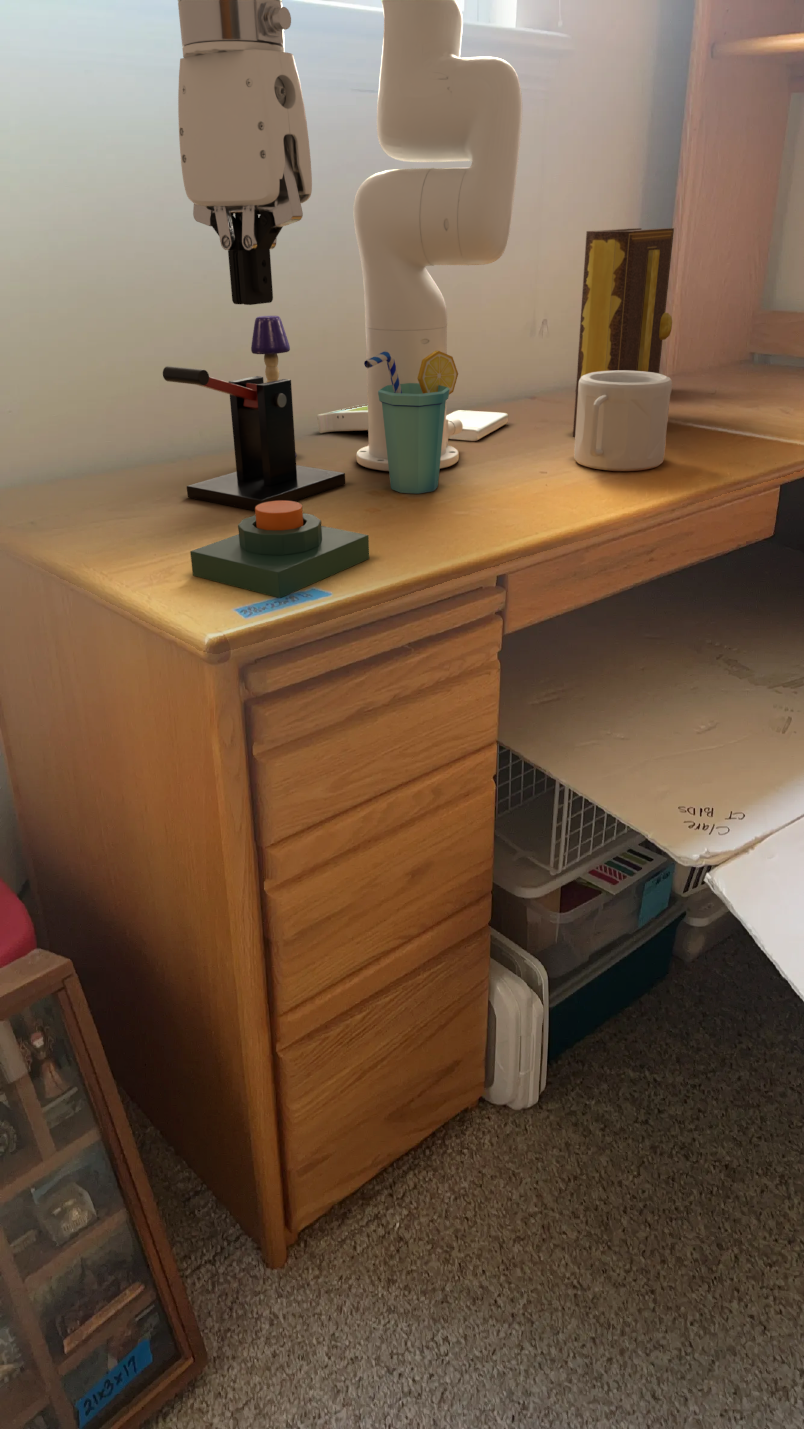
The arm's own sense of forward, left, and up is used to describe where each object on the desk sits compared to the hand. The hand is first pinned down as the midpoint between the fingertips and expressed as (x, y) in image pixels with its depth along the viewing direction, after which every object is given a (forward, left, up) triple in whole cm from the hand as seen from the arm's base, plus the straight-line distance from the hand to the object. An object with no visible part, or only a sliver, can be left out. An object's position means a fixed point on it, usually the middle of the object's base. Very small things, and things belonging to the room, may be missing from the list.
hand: (253, 302), depth 81 cm
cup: (-25, -2, -21) cm, 33 cm away
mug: (-48, +12, -21) cm, 54 cm away
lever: (-11, -15, -11) cm, 21 cm away
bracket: (-16, -15, -21) cm, 30 cm away
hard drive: (-56, -14, -21) cm, 62 cm away
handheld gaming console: (-44, -23, -19) cm, 53 cm away
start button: (+3, +4, -17) cm, 18 cm away
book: (-71, +2, -21) cm, 74 cm away
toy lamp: (-29, -25, -21) cm, 44 cm away
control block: (+3, +4, -21) cm, 22 cm away
